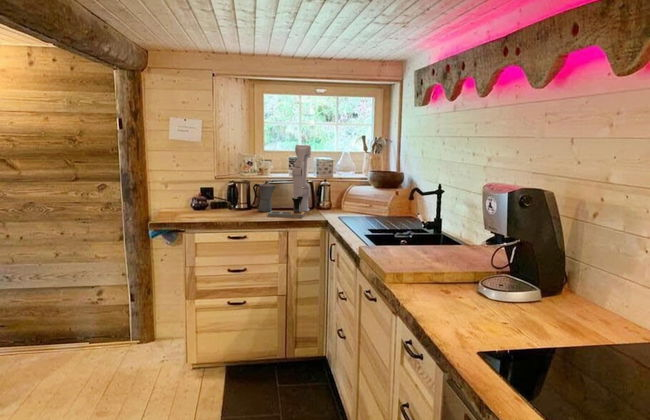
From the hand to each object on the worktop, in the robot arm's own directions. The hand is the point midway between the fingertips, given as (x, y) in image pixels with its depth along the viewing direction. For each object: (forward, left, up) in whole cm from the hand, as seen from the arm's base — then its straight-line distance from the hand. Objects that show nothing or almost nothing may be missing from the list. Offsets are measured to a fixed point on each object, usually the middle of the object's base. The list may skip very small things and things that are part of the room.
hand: (297, 208), depth 300 cm
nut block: (0, -1, -3) cm, 3 cm away
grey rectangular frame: (0, -7, -5) cm, 9 cm away
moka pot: (-14, -25, -5) cm, 30 cm away
